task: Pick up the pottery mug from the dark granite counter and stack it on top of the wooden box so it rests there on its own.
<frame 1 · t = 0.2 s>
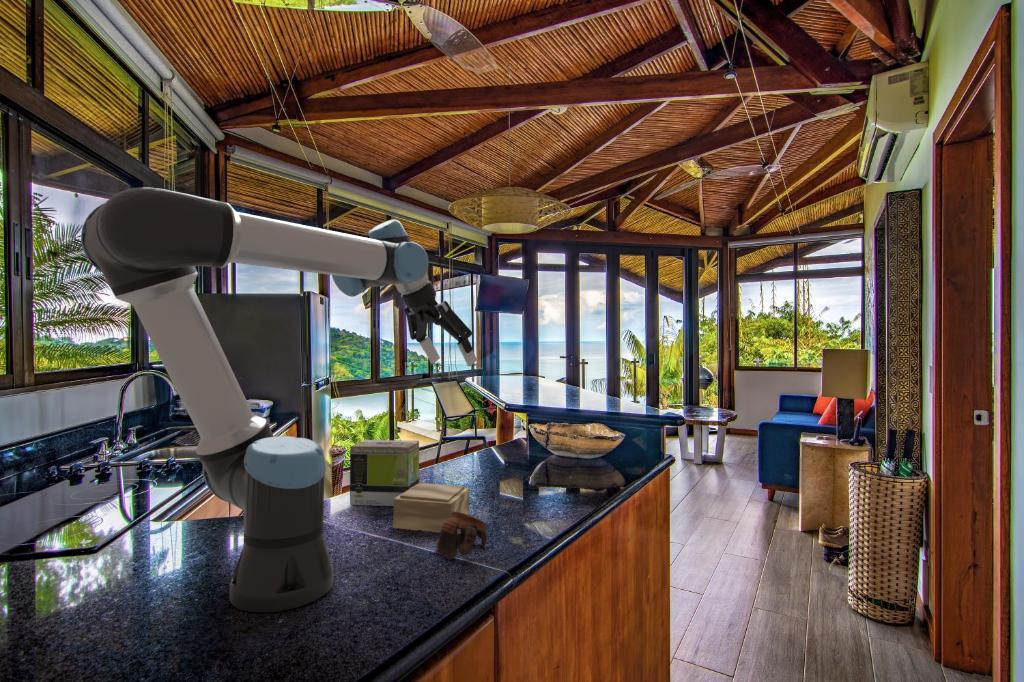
hand: (453, 362, 128), 35 cm above the counter, tool tilted 35°, fingers open, 13 cm apart
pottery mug: (462, 553, 99), on the counter
wooden box: (432, 522, 117), on the counter
tea box: (385, 502, 131), on the counter
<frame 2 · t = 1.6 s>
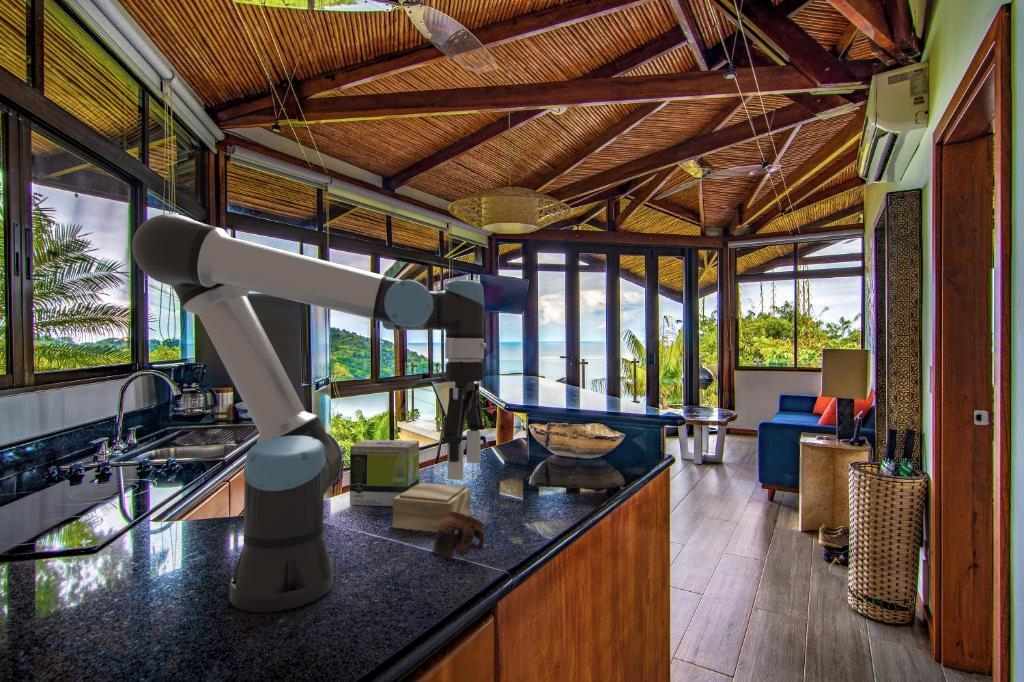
hand: (465, 470, 101), 15 cm above the counter, tool pointing down, fingers open, 13 cm apart
nothing on the counter moved.
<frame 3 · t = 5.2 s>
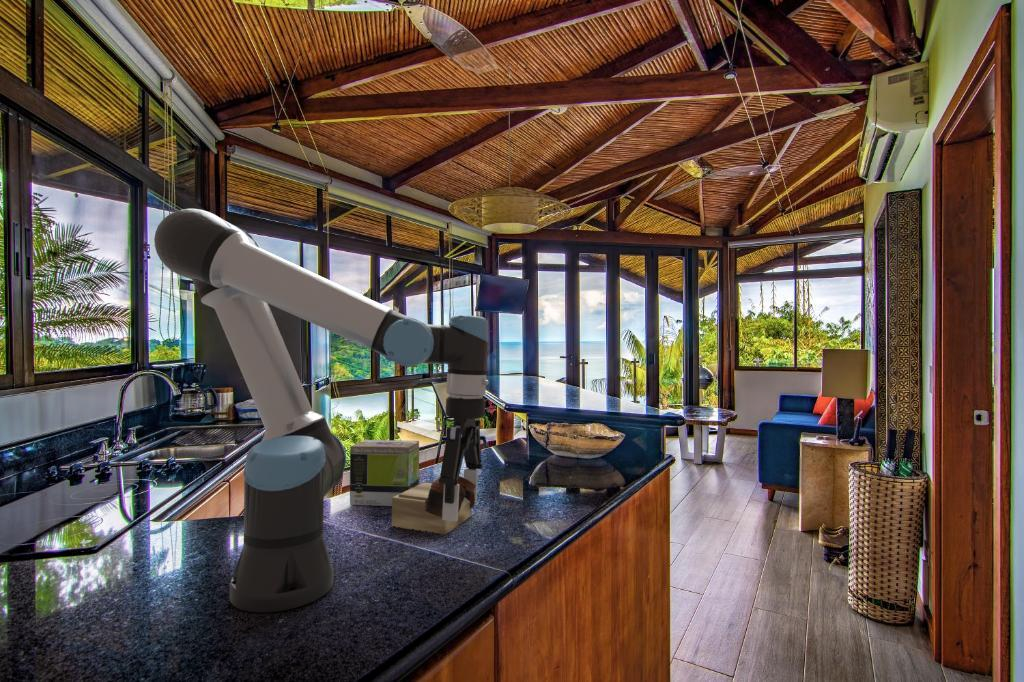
hand: (460, 510, 99), 8 cm above the counter, tool pointing down, fingers closed on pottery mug, 11 cm apart
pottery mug: (450, 513, 99), point 7 cm above the counter, touching gripper
everything else where it was.
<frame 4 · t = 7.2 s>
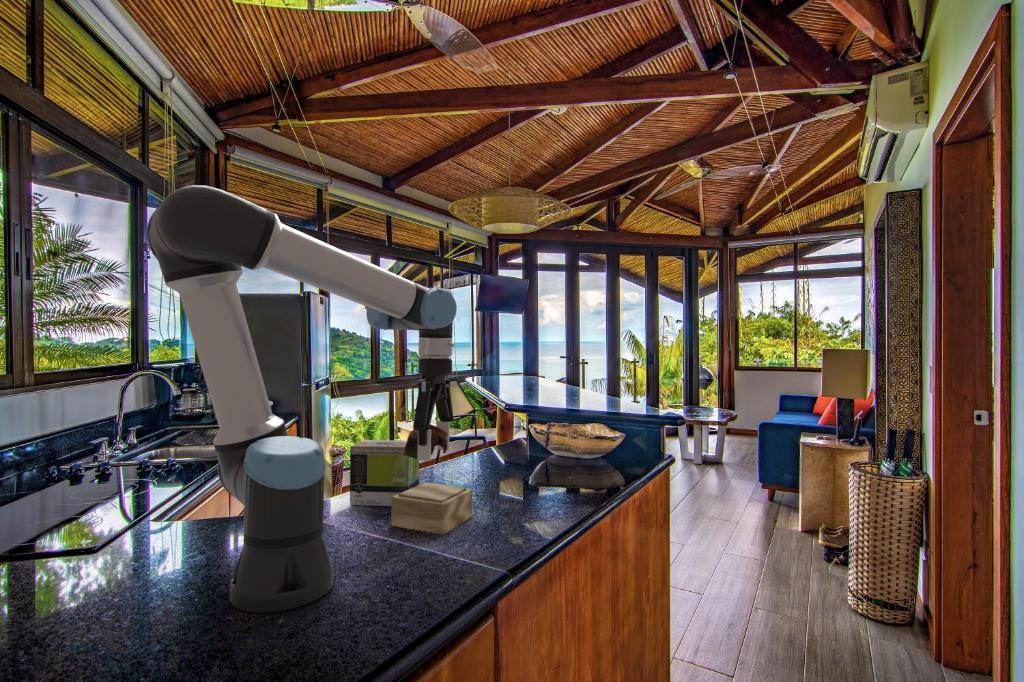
hand: (434, 454, 117), 15 cm above the counter, tool pointing down, fingers closed on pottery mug, 11 cm apart
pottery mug: (426, 456, 117), point 14 cm above the counter, touching gripper
everything else where it was.
when the fingers open (8 cm above the counter, at t = 9.3 s): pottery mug drops 1 cm, resting on wooden box.
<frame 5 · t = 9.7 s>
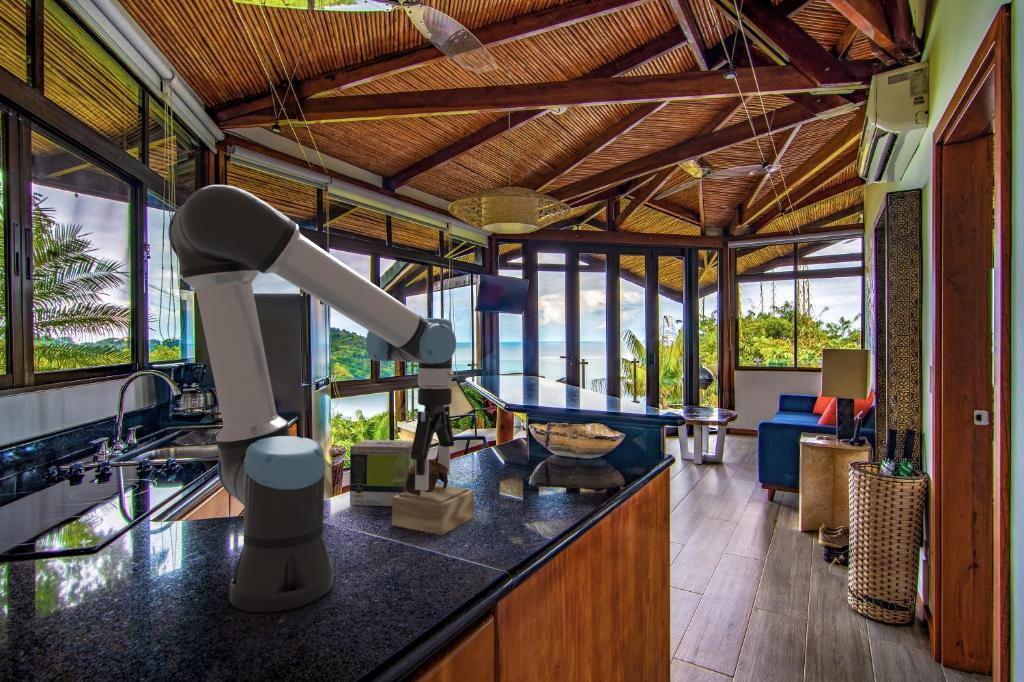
hand: (433, 481, 117), 9 cm above the counter, tool pointing down, fingers open, 13 cm apart
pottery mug: (426, 492, 116), point 6 cm above the counter, touching wooden box
wooden box: (433, 522, 116), on the counter, touching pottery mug
everything else where it was.
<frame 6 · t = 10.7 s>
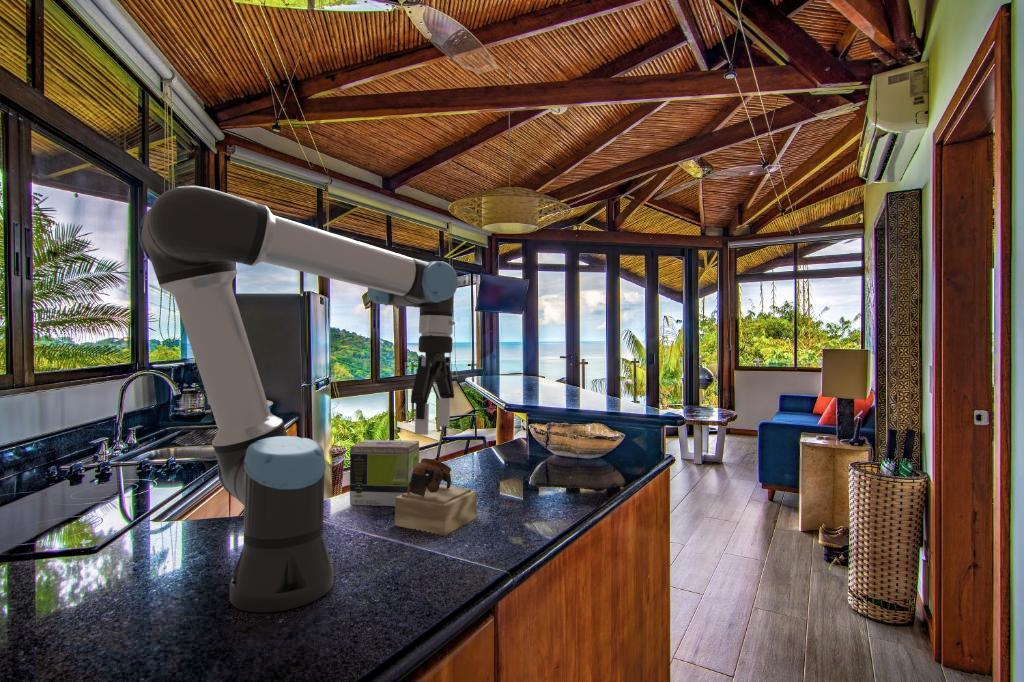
hand: (433, 430, 117), 20 cm above the counter, tool pointing down, fingers open, 13 cm apart
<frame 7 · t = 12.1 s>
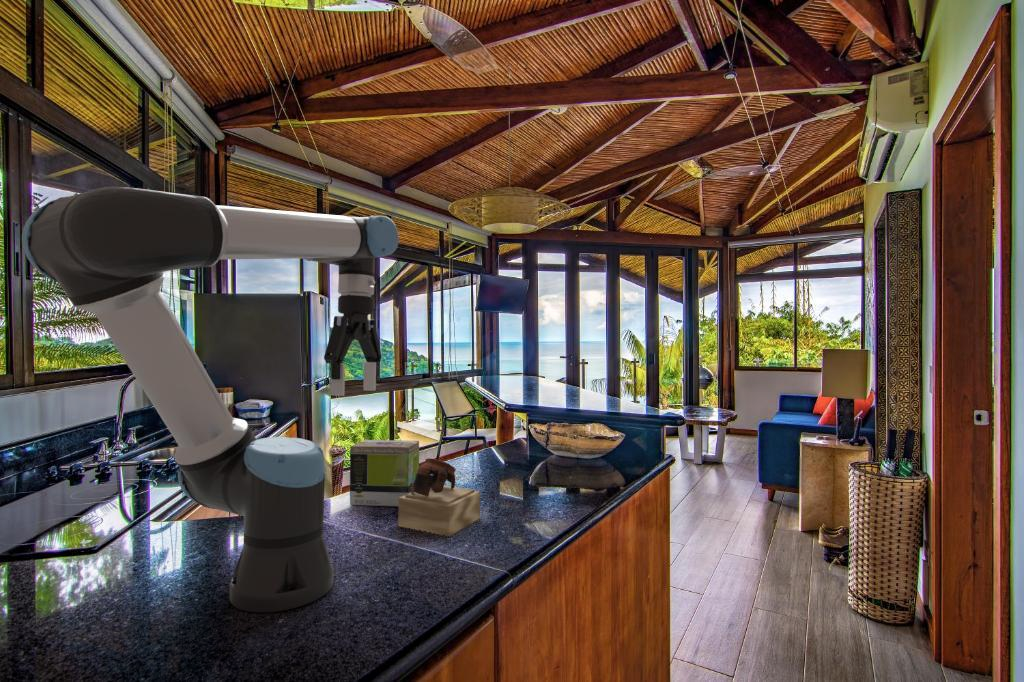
hand: (354, 393, 114), 29 cm above the counter, tool pointing down, fingers open, 13 cm apart
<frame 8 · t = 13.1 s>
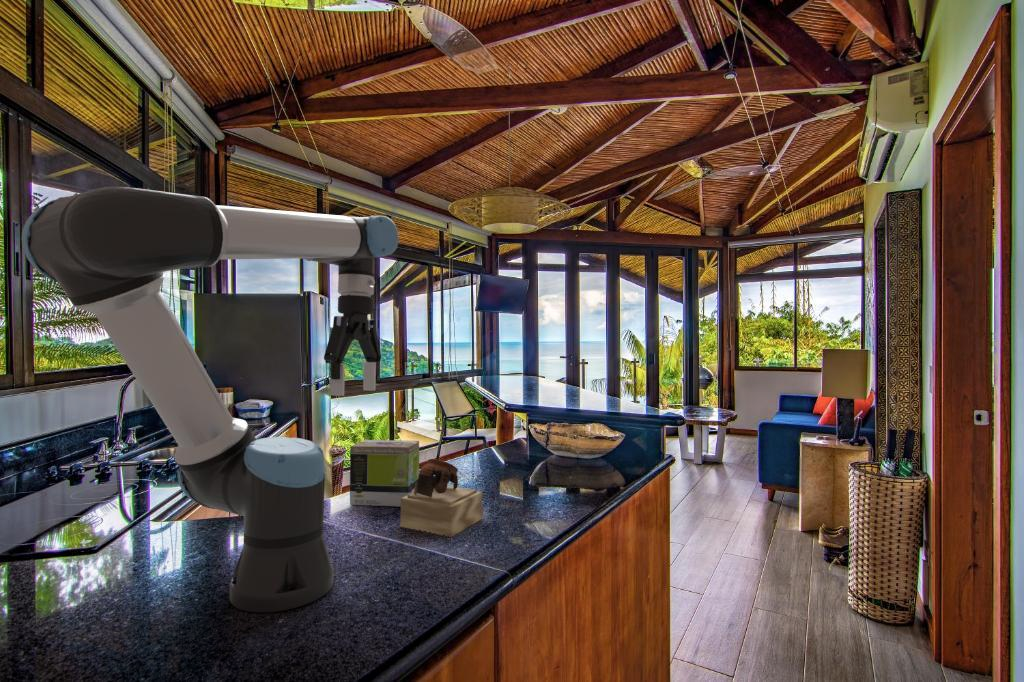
hand: (354, 392, 114), 29 cm above the counter, tool pointing down, fingers open, 13 cm apart
at the end: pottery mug inside the target area on the wooden box (1.1 cm from its centre), point 6.8 cm above the wooden box's base; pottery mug tilted 0°; the gripper is holding nothing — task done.
